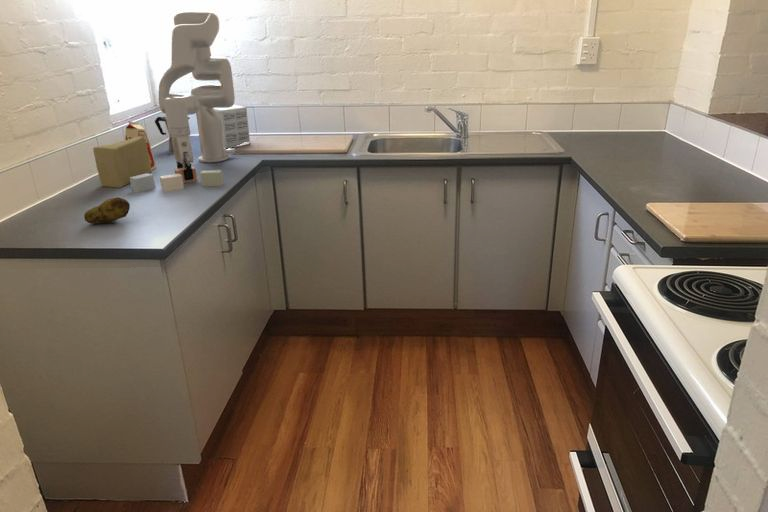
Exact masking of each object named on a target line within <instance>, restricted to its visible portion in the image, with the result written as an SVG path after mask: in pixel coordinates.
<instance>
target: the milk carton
mask: <svg viewBox="0 0 768 512" xmlns="http://www.w3.org/2000/svg"><path fill="white" fill-rule="evenodd" d="M134 137H144V138H145V142H146V146H147V150H148V154H149V158H150V164H151V171H153V170H154V169H156V168H157V164H156V161H155V156H154V154H153V150H152V145H151V142H150V140H149V137H148V134H147V132H146V129H145V128H144V127H142V125H140V122H139V121H137V122H135V121H134V122H133V121H130V120H128V125H126V127H125V139H124V141H125V140H128V139H131V138H134Z"/></svg>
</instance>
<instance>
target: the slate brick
mask: <svg viewBox="0 0 768 512" xmlns="http://www.w3.org/2000/svg"><path fill="white" fill-rule="evenodd" d="M130 187H131V191H133V192H137V193H140V192H144V191H148V190H152V189H155V188H156V184H155V178H154V174H152V173H150V174H148V173H146V174H142V175H138V176H133V177H130Z"/></svg>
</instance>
